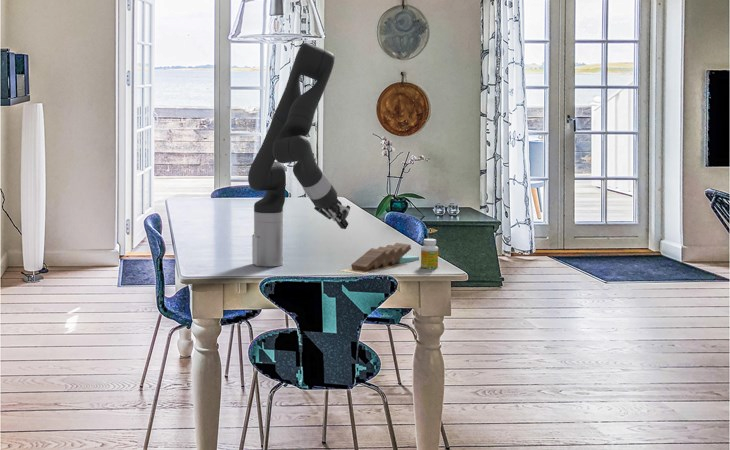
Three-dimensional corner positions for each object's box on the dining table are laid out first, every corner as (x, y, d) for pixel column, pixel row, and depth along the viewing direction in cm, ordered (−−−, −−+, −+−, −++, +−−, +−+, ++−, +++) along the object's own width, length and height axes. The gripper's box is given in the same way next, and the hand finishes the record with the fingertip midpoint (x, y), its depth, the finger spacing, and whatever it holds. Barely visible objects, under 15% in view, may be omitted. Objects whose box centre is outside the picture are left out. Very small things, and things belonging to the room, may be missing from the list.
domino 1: (365, 267, 260) (385, 250, 267) (351, 264, 263) (371, 248, 271) (366, 271, 261) (386, 254, 268) (352, 269, 264) (372, 252, 272)
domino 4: (391, 260, 271) (410, 244, 278) (377, 258, 274) (396, 242, 281) (392, 265, 271) (411, 248, 279) (378, 263, 275) (397, 247, 282)
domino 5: (400, 258, 274) (419, 256, 283) (386, 256, 278) (405, 255, 286) (399, 263, 274) (418, 261, 283) (385, 261, 278) (405, 259, 286)
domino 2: (374, 265, 263) (393, 248, 271) (360, 262, 267) (379, 246, 274) (375, 269, 264) (394, 252, 272) (361, 267, 268) (380, 250, 275)
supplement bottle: (428, 272, 266) (428, 241, 264) (417, 269, 270) (417, 239, 269) (441, 270, 269) (442, 240, 268) (430, 267, 273) (430, 237, 272)
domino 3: (382, 263, 267) (401, 246, 274) (368, 261, 270) (388, 244, 278) (383, 267, 268) (402, 250, 275) (369, 265, 271) (389, 249, 278)
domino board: (361, 276, 256) (361, 274, 256) (338, 273, 262) (338, 270, 262) (407, 266, 275) (407, 263, 275) (385, 262, 280) (385, 260, 280)
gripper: (342, 181, 241) (368, 219, 252) (308, 177, 249) (334, 214, 261) (330, 200, 238) (356, 239, 249) (295, 196, 246) (322, 233, 257)
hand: (344, 226), depth 255 cm, fingers closed
